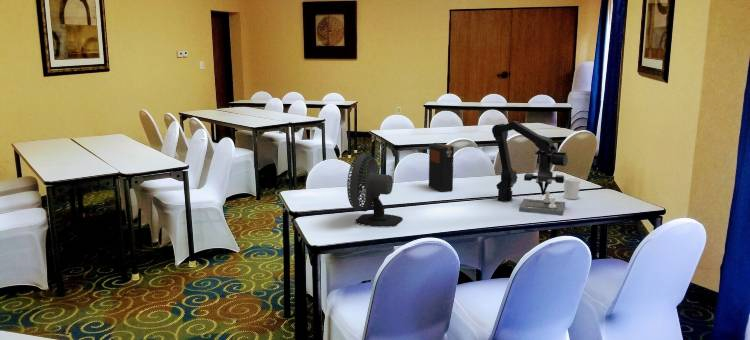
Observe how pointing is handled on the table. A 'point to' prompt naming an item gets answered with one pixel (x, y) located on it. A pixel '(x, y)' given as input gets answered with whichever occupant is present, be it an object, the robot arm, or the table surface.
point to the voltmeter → (441, 166)
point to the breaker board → (541, 207)
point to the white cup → (571, 188)
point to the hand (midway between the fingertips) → (543, 195)
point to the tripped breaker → (547, 197)
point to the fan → (369, 191)
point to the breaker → (552, 202)
